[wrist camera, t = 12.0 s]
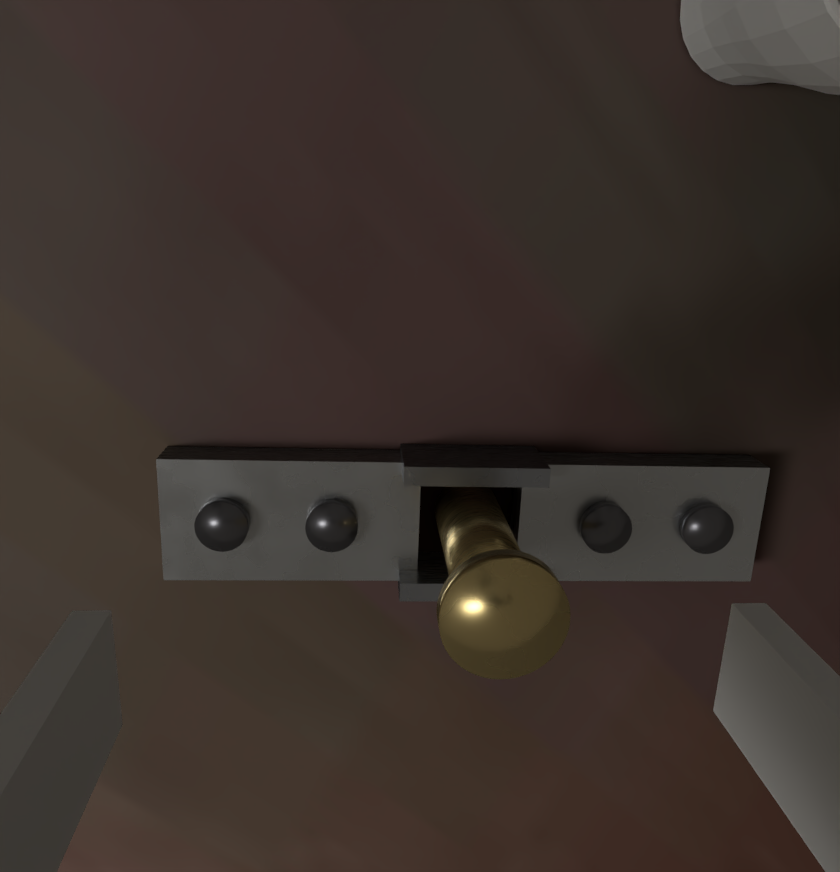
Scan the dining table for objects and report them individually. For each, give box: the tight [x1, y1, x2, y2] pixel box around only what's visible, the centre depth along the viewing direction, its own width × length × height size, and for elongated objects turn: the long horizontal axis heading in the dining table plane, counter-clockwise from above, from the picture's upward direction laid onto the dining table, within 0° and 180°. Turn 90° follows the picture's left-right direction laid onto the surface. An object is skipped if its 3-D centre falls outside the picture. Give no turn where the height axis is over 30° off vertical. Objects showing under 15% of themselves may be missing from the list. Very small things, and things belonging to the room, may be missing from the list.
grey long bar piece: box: [156, 444, 770, 601], centre depth 36 cm, size 29×7×4 cm, turn 88°
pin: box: [434, 487, 570, 679], centre depth 33 cm, size 5×5×11 cm
